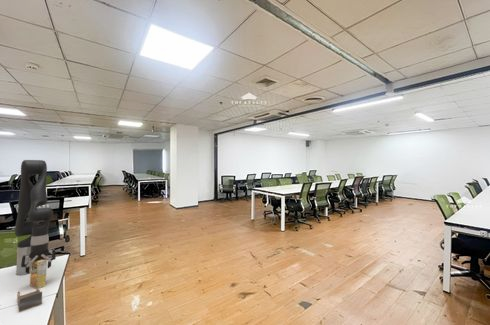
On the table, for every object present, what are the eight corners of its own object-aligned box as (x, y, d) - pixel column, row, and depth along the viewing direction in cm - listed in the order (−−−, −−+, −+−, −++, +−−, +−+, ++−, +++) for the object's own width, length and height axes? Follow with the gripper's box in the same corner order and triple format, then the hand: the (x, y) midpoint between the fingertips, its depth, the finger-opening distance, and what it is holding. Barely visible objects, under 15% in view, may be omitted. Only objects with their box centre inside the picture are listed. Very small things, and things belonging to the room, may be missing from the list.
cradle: (17, 298, 110) (17, 287, 110) (38, 292, 116) (38, 281, 116) (19, 311, 100) (19, 299, 100) (41, 304, 106) (42, 292, 106)
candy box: (29, 285, 122) (30, 258, 122) (38, 281, 126) (39, 256, 126) (36, 289, 118) (38, 262, 119) (46, 285, 122) (47, 259, 122)
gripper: (54, 238, 130) (53, 264, 130) (21, 244, 120) (20, 272, 119) (57, 240, 126) (55, 268, 125) (22, 247, 115) (21, 277, 114)
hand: (38, 270), depth 122 cm, fingers open, 8 cm apart
